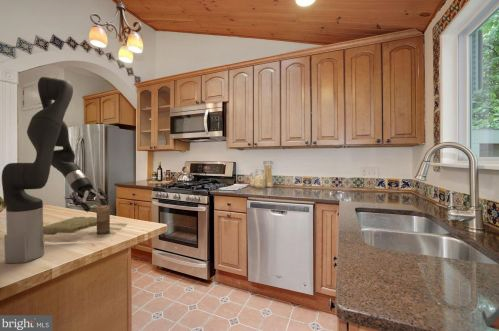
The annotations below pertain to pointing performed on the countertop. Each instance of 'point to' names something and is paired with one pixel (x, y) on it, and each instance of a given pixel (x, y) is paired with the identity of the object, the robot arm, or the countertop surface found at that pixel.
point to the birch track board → (113, 229)
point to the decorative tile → (70, 225)
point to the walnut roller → (103, 219)
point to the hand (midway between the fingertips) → (98, 208)
